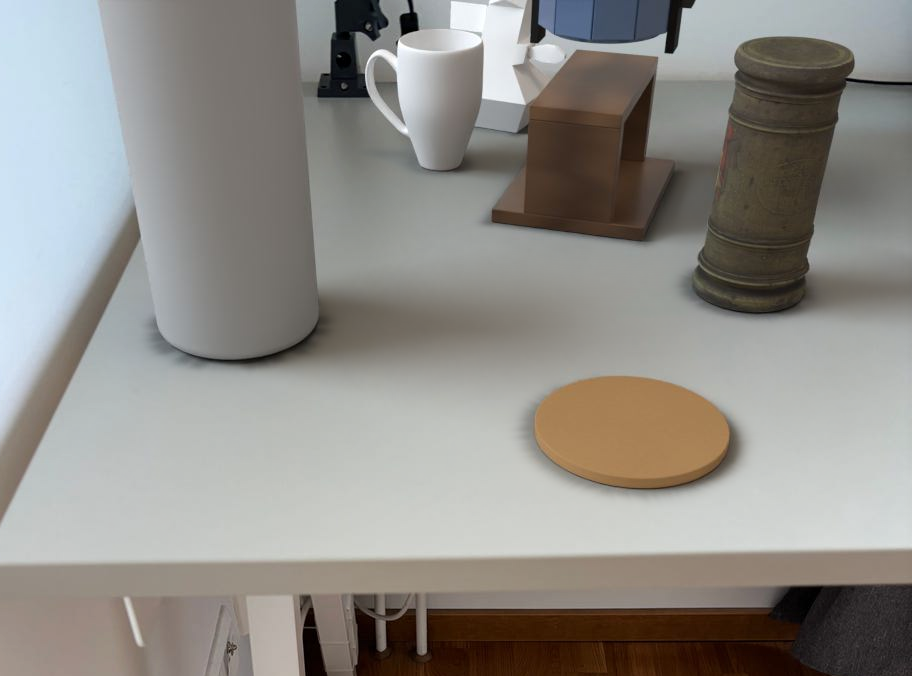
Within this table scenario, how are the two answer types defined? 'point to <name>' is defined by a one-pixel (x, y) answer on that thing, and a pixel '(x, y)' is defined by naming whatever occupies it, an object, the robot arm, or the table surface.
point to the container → (771, 172)
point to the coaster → (631, 431)
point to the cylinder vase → (218, 169)
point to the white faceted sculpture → (506, 60)
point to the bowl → (605, 19)
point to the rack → (590, 151)
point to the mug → (435, 92)
